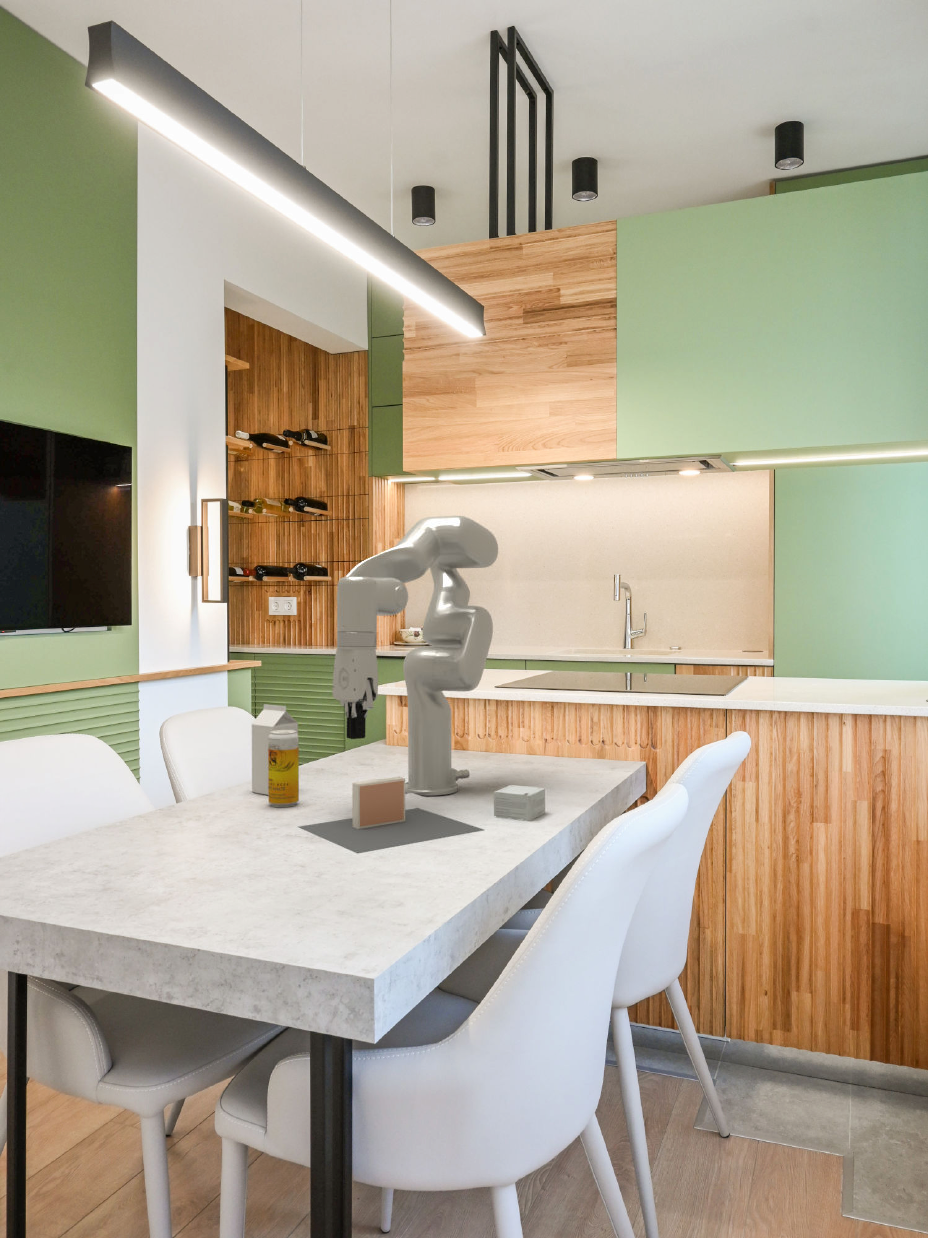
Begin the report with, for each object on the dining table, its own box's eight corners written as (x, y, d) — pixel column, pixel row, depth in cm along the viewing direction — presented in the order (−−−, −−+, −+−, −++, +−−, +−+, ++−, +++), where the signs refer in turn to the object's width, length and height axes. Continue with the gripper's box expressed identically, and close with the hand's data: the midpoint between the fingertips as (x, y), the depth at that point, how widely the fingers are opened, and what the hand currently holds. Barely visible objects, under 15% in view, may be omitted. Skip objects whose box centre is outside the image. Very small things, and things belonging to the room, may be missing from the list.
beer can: (262, 806, 185) (261, 732, 185) (281, 800, 190) (281, 728, 190) (285, 809, 182) (285, 734, 182) (304, 803, 188) (304, 730, 187)
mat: (417, 810, 181) (417, 807, 181) (485, 833, 163) (485, 829, 163) (297, 830, 165) (297, 826, 165) (357, 857, 147) (357, 853, 147)
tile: (399, 819, 171) (399, 776, 171) (405, 821, 169) (405, 778, 169) (352, 826, 165) (352, 782, 165) (358, 829, 163) (358, 784, 163)
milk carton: (273, 796, 194) (273, 707, 194) (251, 792, 198) (251, 705, 198) (298, 791, 200) (298, 704, 200) (276, 787, 204) (276, 702, 204)
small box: (510, 809, 182) (509, 784, 182) (546, 813, 179) (546, 787, 179) (492, 817, 176) (492, 791, 175) (530, 822, 172) (530, 795, 172)
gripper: (320, 640, 177) (320, 735, 177) (358, 642, 165) (358, 744, 165) (354, 640, 181) (353, 733, 181) (394, 642, 169) (393, 741, 169)
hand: (355, 738), depth 173 cm, fingers closed
